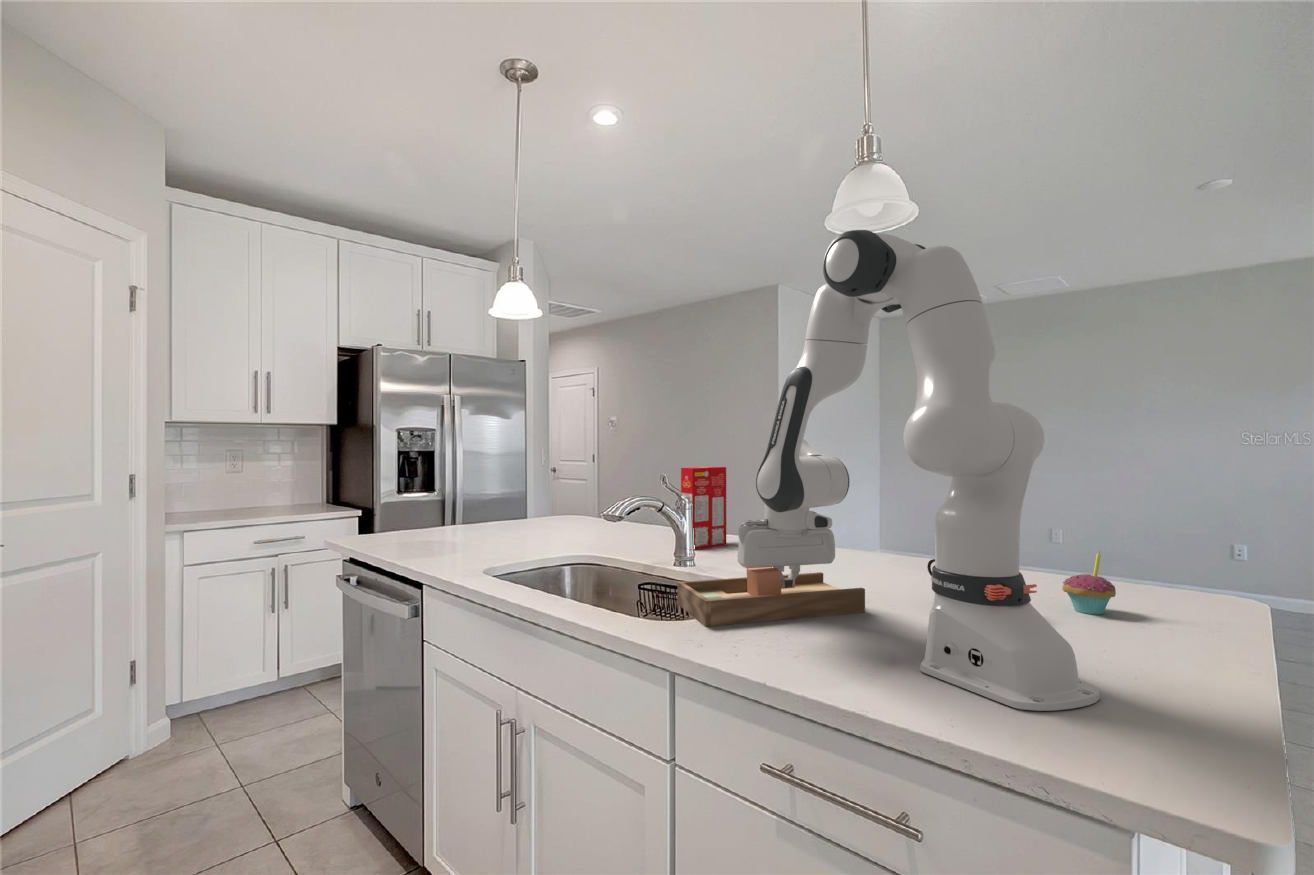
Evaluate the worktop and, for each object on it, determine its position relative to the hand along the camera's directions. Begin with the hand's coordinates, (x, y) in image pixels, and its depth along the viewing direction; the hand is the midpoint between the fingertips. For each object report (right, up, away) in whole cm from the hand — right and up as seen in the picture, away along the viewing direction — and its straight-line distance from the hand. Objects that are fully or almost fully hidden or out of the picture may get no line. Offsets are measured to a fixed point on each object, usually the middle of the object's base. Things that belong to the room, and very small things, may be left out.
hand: (786, 587), depth 125 cm
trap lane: (-3, -4, -1) cm, 5 cm away
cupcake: (+58, -4, -4) cm, 58 cm away
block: (-5, -1, -1) cm, 5 cm away
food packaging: (-11, -4, +72) cm, 73 cm away
